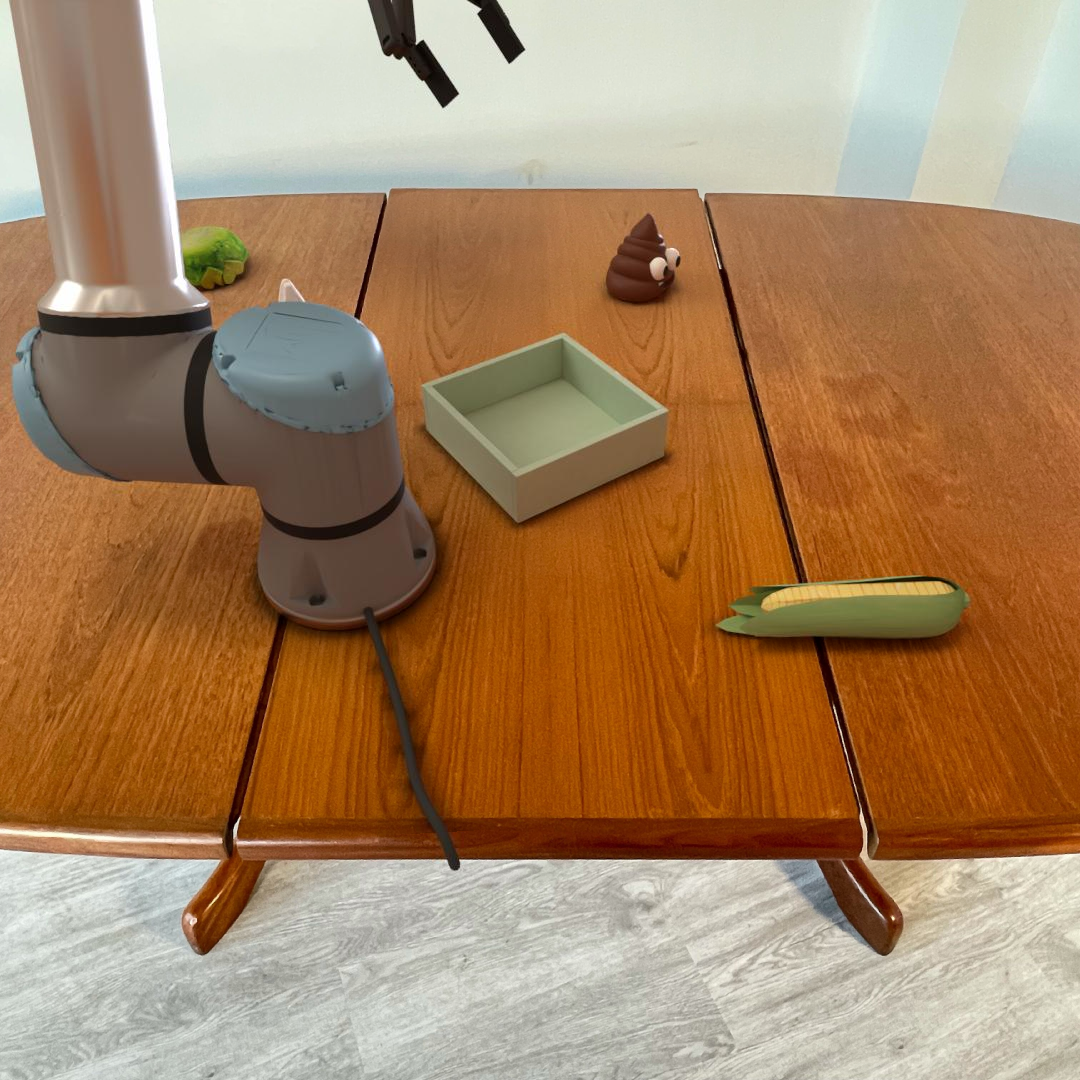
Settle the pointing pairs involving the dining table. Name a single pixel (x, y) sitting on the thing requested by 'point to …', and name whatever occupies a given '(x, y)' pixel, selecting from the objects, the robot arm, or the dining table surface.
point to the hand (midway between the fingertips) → (485, 78)
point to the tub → (544, 424)
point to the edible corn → (851, 608)
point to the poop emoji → (642, 264)
